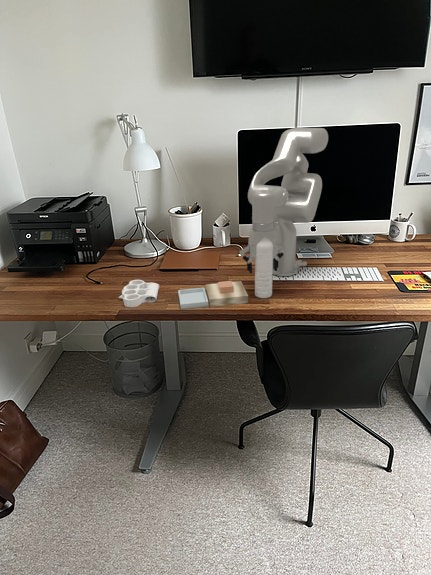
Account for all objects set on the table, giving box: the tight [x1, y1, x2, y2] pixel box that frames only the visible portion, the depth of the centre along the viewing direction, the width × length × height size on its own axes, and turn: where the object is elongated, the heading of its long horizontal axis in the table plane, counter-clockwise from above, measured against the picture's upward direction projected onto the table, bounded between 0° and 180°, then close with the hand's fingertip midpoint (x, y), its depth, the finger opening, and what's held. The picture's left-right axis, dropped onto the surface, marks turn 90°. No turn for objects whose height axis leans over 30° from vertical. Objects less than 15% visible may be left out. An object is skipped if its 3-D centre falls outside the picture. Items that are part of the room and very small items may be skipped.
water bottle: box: [254, 238, 273, 299], centre depth 165 cm, size 9×6×25 cm
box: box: [177, 287, 210, 310], centre depth 167 cm, size 10×12×2 cm
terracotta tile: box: [217, 280, 234, 294], centre depth 167 cm, size 5×5×2 cm
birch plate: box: [204, 280, 249, 308], centre depth 168 cm, size 14×13×3 cm
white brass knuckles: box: [118, 279, 160, 308], centre depth 172 cm, size 3×18×15 cm
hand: (262, 270), depth 166 cm, fingers open, 9 cm apart
